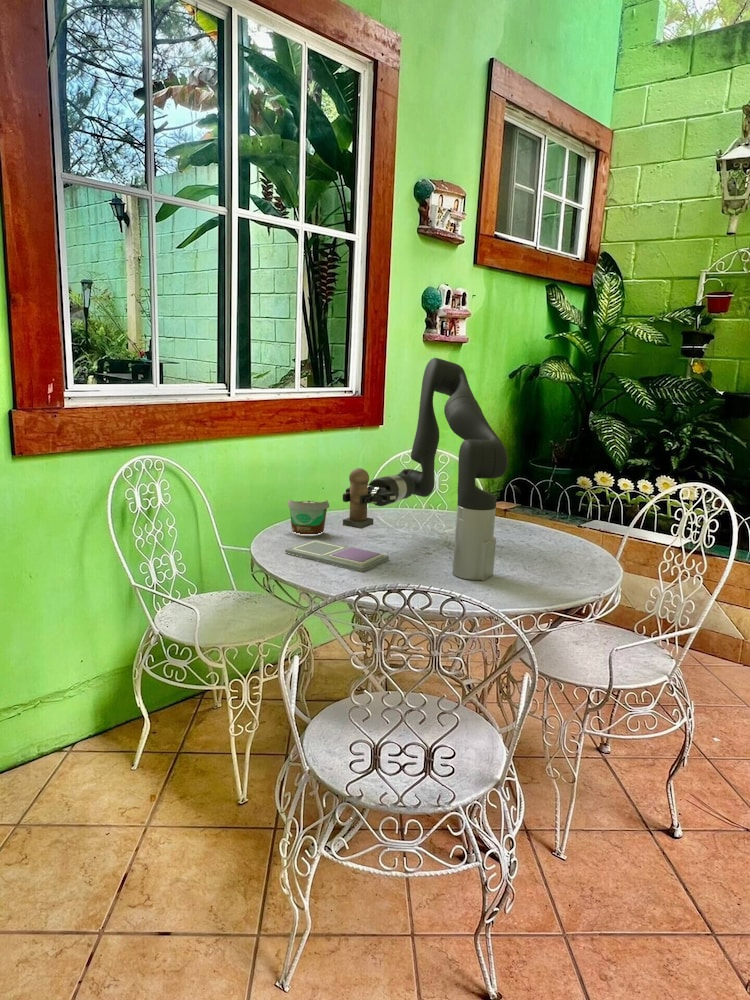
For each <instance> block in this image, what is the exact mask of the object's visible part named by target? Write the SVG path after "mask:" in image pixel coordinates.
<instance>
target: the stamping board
mask: <svg viewBox="0 0 750 1000" xmlns="http://www.w3.org/2000/svg"><path fill="white" fill-rule="evenodd" d="M285 552H287V553H290V554H294V555H298V556H297V557H299V556H302V557H301V558H303V557H306V558H305V559H307V558H310V559H309V560H311V559H314V560H313V561H315V560H319V561H322V562H321V563H323V562H326V563H325V564H327V563H330V564H329V565H332V564H334V565H333V566H336V565H338V566H337V567H340V566H342V567H341V568H344V567H346V568H345V569H348V568H349V570H352V569H353V570H354V571H357V572H364V571H367V570H369V569H371V568H374V567H376V566H377V565H380V564H382V563H385V562H387V561H389V560H390V555H387V554H383V553H380V552H376V551H370V550H367V549H366V550H365V549H362V548H357V547H353V546H346V545H342V544H338V543H333V542H328V541H325V540H319V539H312V540H309V541H307V542H306V541H305V542H304V543H300V544H297V545H295V546H292V547H290V548H289V547H288V548H286V549H284V553H285ZM290 554H289V555H290ZM294 555H293V556H294ZM319 561H318V562H319ZM353 570H352V571H353Z"/></svg>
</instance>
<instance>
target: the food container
mask: <svg viewBox="0 0 750 1000" xmlns="http://www.w3.org/2000/svg"><path fill="white" fill-rule="evenodd" d="M288 499H289V500H288V501H287V505H286V506H287V507H288V508H289V515H290V525H291V526H290V527H291V532H292V531H293V532H296V533H300V534H318V533H321V532H323V531H324V530H325V526H326V525H325V524H326V518H327V512H328V511H327V509H328V508H329V509H330V503H329V502H330V501H329V499H327V500H326V501H322V502H320V501H314V500H303V501H294V500H292V499H290V498H288ZM324 532H325V531H324Z"/></svg>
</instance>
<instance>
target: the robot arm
mask: <svg viewBox="0 0 750 1000" xmlns="http://www.w3.org/2000/svg"><path fill="white" fill-rule="evenodd" d="M422 376H423V377H422V382H421V390H420V399H419V407H418V408H419V409H418V417H417V425H416V431H415V435H414V440H413V443H412V448H411V453H410V458H411V460H412V461H414V462H416V463H418V464H420V466H421V470H422V471H421V470H417V469H416V470H415V469H412V468H405V469H402V470H401V471H400V472H399V473H397V474H394V475H386V476H382V477H376V478H373V479H372V480H371V481H369V483H368V494H366V495H362V496H360V505H364V504H367V505H368V504H371V505H375V506H378V507H385V506H388V505H391V504H392V505H393V504H395V503H397V502H399V501H403V500H405V499H408V498H410V497H411V496H412V495H414V496H418V497H423V498H426V497H430V495H431V494H432V493H433V491H434V489H435V485H436V484H435V483H436V482H435V460H436V455H437V451H438V446H439V441H440V428H439V425H438V421H437V418H436V413H435V409H434V408H435V407H434V395H435V392H436V393H439V394H443V395H446V396H449V397H448V399H447V400H446V402H445V404H444V410H443V413H444V415H445V419H446V422H447V424H448V426H449V428H450V430H451V431H452V432H453V433H454V434H455V435H456V436H458V437H459V438H461V439H462V440H463V441H462V443H461V444H460V447H459V451H458V460H457V461H458V464H457V465H458V469H457V470H458V474H457V477H458V478H457V504H456V507H457V508H456V520H455V530H454V531H455V532H454V533H455V534H454V542H453V543H454V544H453V545H454V546H453V547H454V548H453V555H452V556H453V559H452V571H451V572H452V574H453V576H456V577H457V578H459V579H460V578H461V579H466V580H472V581H473V580H475V581H485V580H487V579H489V578H491V576H493V575H494V568H495V558H496V557H495V556H496V545H497V544H496V543H497V538H496V537H495V536H494V534H495V521H496V512H497V511H496V509H497V496H496V495H495V494H493V493H492V492H488V491H487V490H483V489H481V488H479V487H478V486H477V485H476V479H489V480H491V479H498V478H501V477H503V476H504V475H505V474H506V472H507V469H508V466H509V457H508V452H507V449H506V447H505V444H504V443H503V442H502V440H501V438H500V437H499V435H497V434H496V432H495V431H494V429H493V428H492V427H491V426H490V424H489V422H488V420H487V418H486V417H485V415H484V413H483V410H482V408H481V406H480V404H479V402H478V401H477V400H476V398H475V395H474V393H473V391H472V389H471V387H470V384H469V381H468V378H467V375H466V372H465V370H464V368H463V366H461V365H460V364H457V363H455V362H452V361H448V360H444V359H441V358H439V357H433V358H431V359H430V360H429V361H428V362H427V364H426V365H425V369H424V372H423V375H422ZM342 502H343V503H350V486H349V487H348V488H346V489H345V492H344V493H343V494H342Z"/></svg>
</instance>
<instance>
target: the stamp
mask: <svg viewBox="0 0 750 1000" xmlns="http://www.w3.org/2000/svg"><path fill="white" fill-rule="evenodd" d="M348 480H349V481H348V482H349V484H350V485H349V487H350V501H349V517H347V518H346V517H345V518H344V519H342V526H344V527H349V528H354V529H361V530H362V529H363V530H364V529H365V528H367V527H370V526H372V525H374V518H371V517H368V504H364V505H360V496H362V495H366V494H368V485H369V483H370V475H369V473H368V471H367V470H365V469H364V468H361V467H357V468H355V469H352V471H351V472H350V473H349V476H348Z"/></svg>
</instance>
